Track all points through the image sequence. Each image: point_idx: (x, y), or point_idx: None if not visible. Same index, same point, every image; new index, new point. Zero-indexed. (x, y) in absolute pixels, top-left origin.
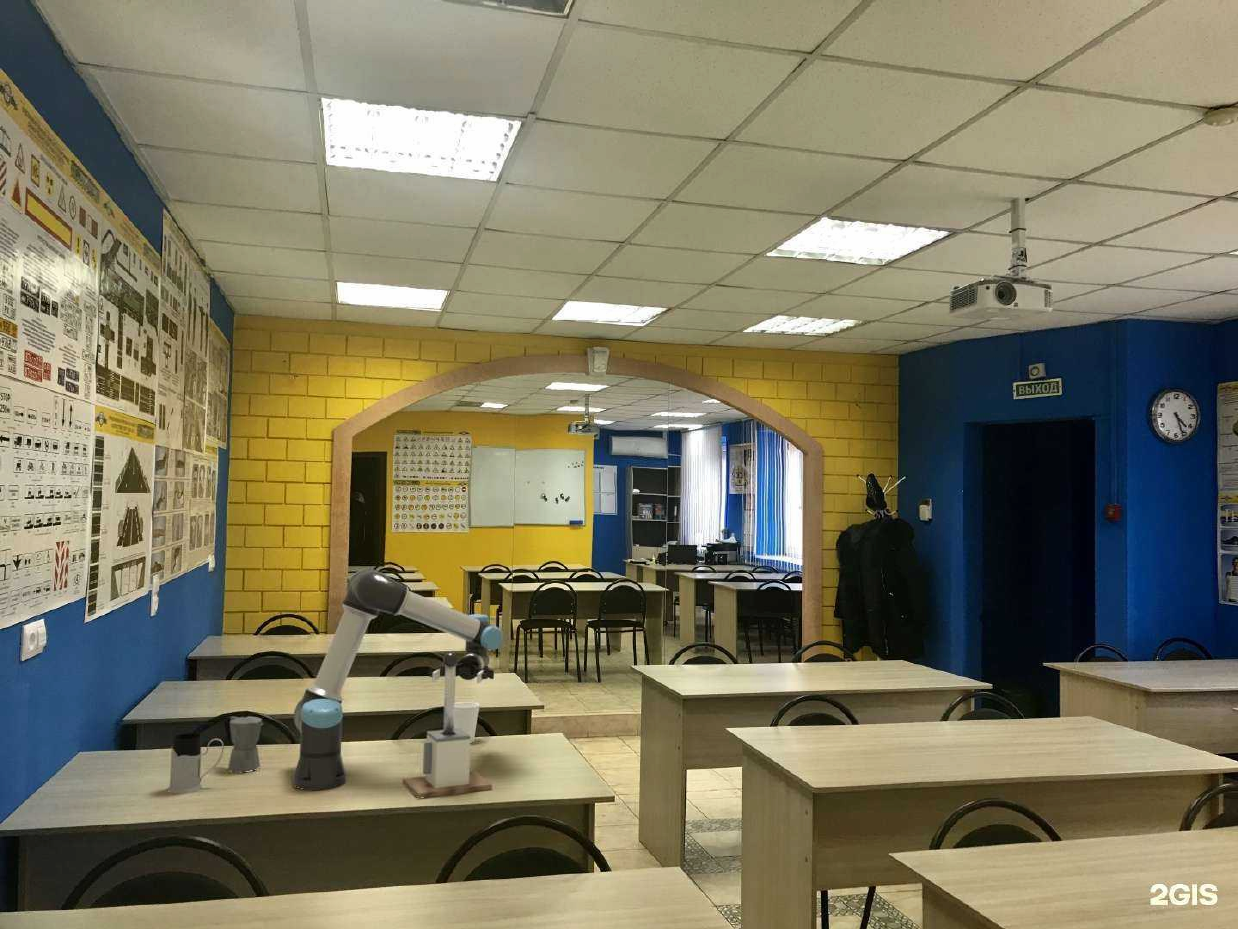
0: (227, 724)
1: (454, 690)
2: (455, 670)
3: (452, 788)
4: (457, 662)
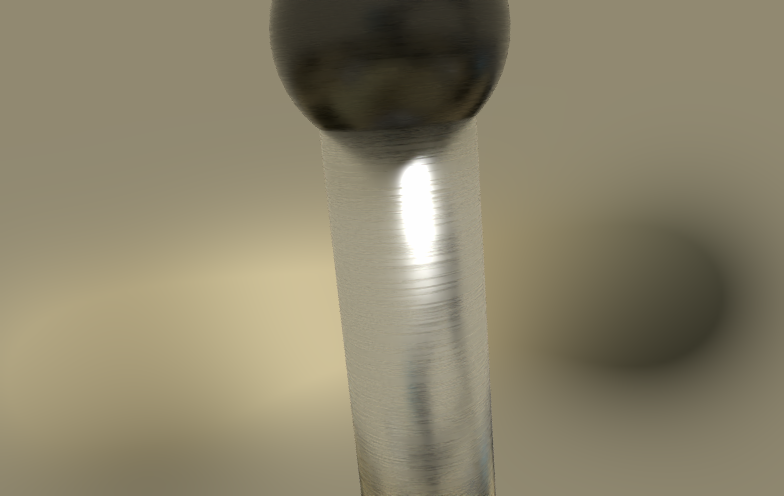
0: None
1: (357, 455)
2: (328, 206)
3: None
4: (282, 80)
